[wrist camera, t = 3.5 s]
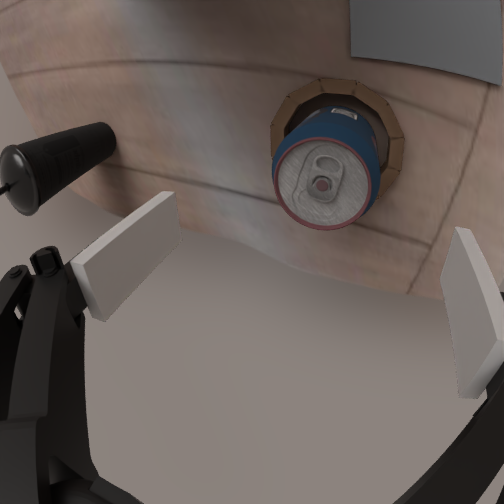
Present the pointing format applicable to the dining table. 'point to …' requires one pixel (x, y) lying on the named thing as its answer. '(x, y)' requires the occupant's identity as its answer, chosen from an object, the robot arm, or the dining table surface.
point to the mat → (431, 34)
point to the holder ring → (361, 92)
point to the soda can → (327, 169)
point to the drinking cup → (51, 164)
